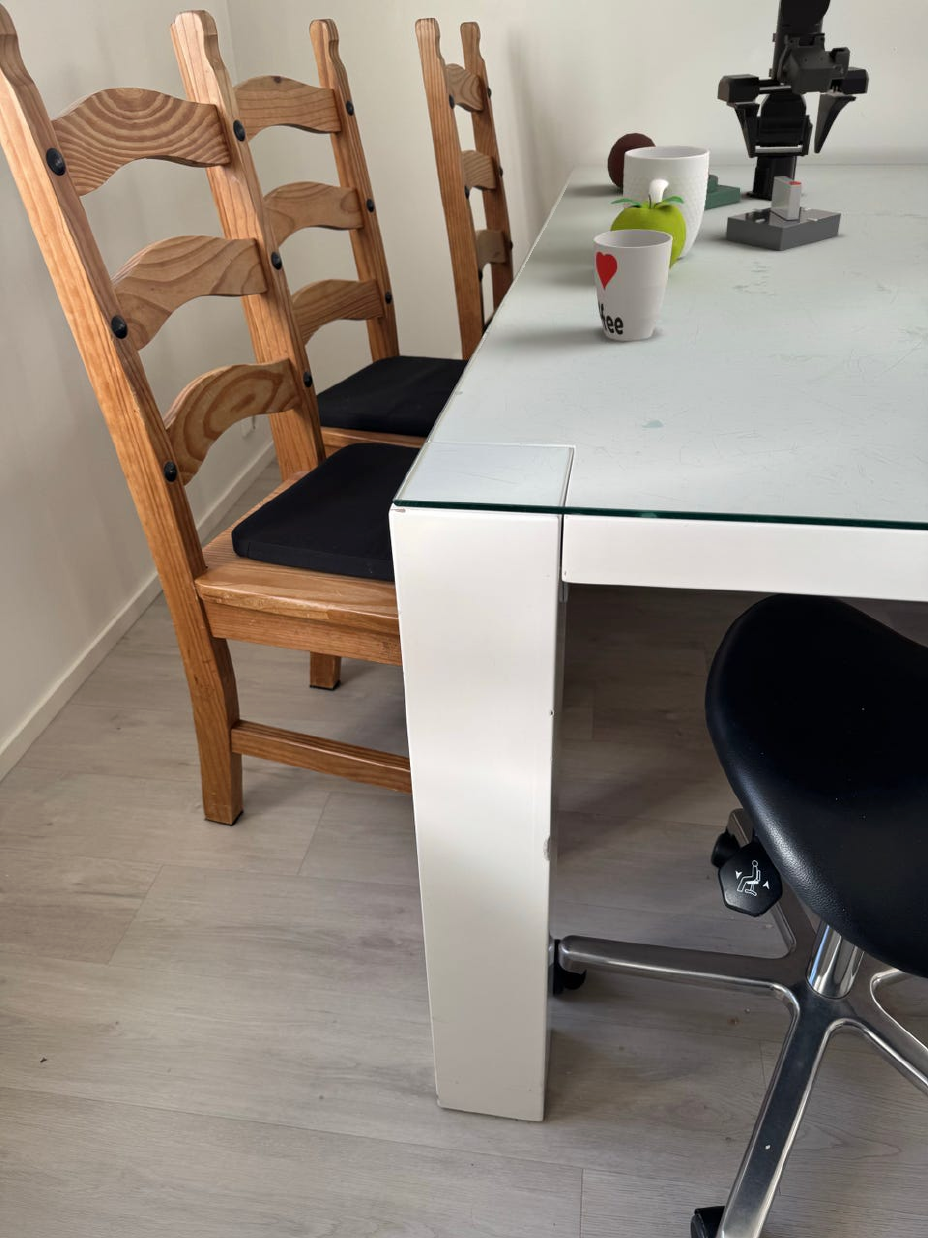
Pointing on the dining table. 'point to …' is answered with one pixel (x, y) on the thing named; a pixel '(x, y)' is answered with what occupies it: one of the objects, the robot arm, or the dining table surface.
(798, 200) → the red-tipped white block
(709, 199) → the tap control
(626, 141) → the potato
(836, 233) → the base
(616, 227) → the fruit
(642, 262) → the cup
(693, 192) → the mug
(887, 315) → the dining table surface
